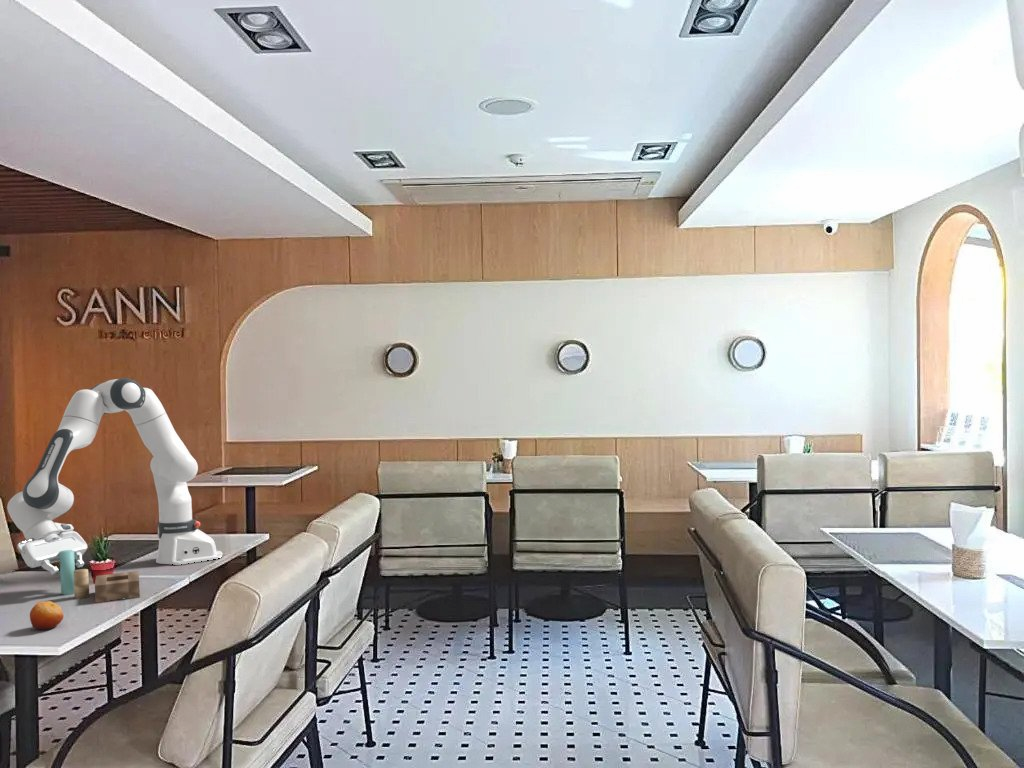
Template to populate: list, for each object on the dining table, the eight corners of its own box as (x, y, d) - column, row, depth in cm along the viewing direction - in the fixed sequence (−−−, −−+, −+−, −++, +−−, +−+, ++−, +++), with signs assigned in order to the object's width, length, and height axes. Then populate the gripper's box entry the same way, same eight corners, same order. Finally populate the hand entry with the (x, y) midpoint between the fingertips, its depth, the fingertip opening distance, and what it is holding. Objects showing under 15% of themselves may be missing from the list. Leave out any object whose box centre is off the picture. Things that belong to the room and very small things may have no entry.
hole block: (139, 587, 276) (138, 571, 276) (139, 597, 263) (139, 580, 263) (96, 592, 271) (96, 575, 271) (95, 602, 258) (94, 585, 258)
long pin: (76, 590, 273) (74, 549, 273) (75, 593, 270) (73, 551, 270) (61, 592, 272) (60, 550, 272) (60, 595, 268) (59, 553, 268)
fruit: (30, 619, 237) (45, 593, 238) (57, 632, 238) (72, 607, 238) (16, 628, 229) (32, 601, 230) (44, 642, 230) (59, 615, 230)
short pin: (89, 594, 269) (88, 568, 268) (89, 597, 265) (87, 571, 265) (74, 596, 267) (73, 569, 267) (74, 599, 263) (73, 572, 263)
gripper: (19, 535, 263) (45, 570, 260) (75, 523, 282) (100, 555, 279) (9, 549, 265) (34, 584, 262) (66, 536, 284) (90, 568, 281)
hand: (68, 569), depth 270 cm, fingers open, 8 cm apart
